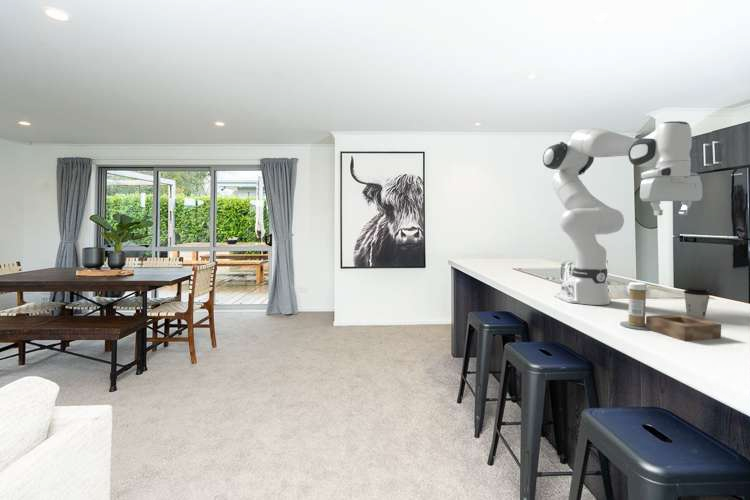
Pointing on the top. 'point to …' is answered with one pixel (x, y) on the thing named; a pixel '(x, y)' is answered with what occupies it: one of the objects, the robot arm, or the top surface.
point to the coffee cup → (696, 302)
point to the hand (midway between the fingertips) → (670, 215)
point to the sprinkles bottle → (637, 304)
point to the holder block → (683, 327)
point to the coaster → (625, 324)
